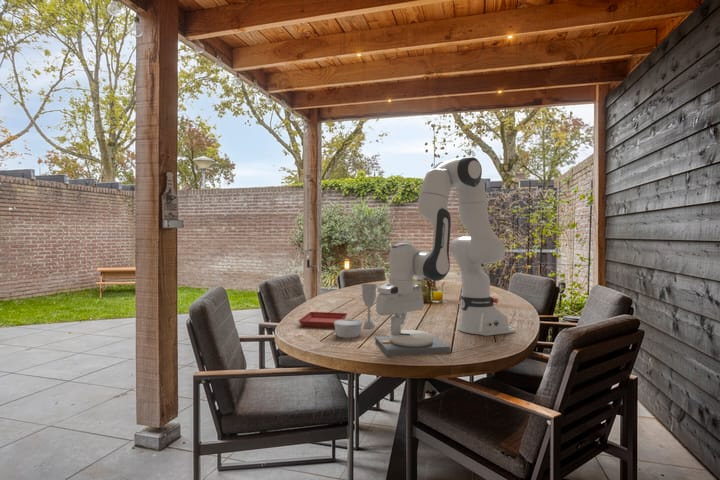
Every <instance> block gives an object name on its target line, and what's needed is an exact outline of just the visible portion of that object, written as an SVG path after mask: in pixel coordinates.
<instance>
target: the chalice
mask: <svg viewBox="0 0 720 480" xmlns="http://www.w3.org/2000/svg"><path fill="white" fill-rule="evenodd" d="M360 286H361V288H362V289H361V296H362V301H363V302H364V304H365V306H366V307H367V315H366V316H367V321H365V322H364V324H363V325H362V326H363V327H364V329H375V328H376V327H375V323H374V322H373V321H372V320H371V317H372V315H371V312H372V310H371V307H373V305H374V302H375V301H376V299H377V297H376V296H377V287H378V284H377V283H362V284H361V285H360ZM363 327H362V328H363Z"/></svg>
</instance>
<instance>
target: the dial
mask: <svg viewBox="0 0 720 480" xmlns="http://www.w3.org/2000/svg"><path fill="white" fill-rule="evenodd" d="M401 328H402V325H401V316H400V317H398V316H395V315H394V316H391V317H390V334H389V336H390V341H391V342H392V343H393V344H396V345H400V346H407V347H421V346H427V345H430V344H432V343H433V335H434V334H432V333H431V332H427V331H423V330H416V329H401Z"/></svg>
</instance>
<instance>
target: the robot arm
mask: <svg viewBox="0 0 720 480" xmlns="http://www.w3.org/2000/svg"><path fill="white" fill-rule="evenodd" d="M482 172H483V171H482V165H481V163H480V161H479V160H478V159H477V158H476V157H474V156H464V157H455V158H451V159H450V160H449V159H448V160H446V161H442V162H438V163H437V164H435V165H434V166H433V168H432V169H430V170H428V171H427V172H426V174H425V176H424V178H423V181H422V183H421V187H420V191H419V195H418V199H417V200H418V201H417V210H418V213H419V214H420V216H421V217H422V218H423V219H425V220H426V221H429V222H430V223H431V225H432V226H433V228H432V229H433V235H432V236H433V237H432V246H431V248H432V249H431V250H430V251H423V250H421V249H419V248H417V247H415V246H414V245H413V244H412V243H411V242H409V241H406V242H405V241H403V242H397V243H393V244H392V245H391V247H390V250H389V253H388V255H389V256H388V268H389V275H388V281H386V282H385V283H384V284H382V285H380V286H377V289H376V292H377V293H378V294H377V295H376V296H377V297H376V300H375V301H376V303H375V310H376V313H377V315H380V316H391V315H394V316H398V317H401V326H404V325H405V320H406V318H407V316H408V313H411V312H416V311H422V310H423V309H424V296H423V289H422V287H421V286H420V285H419V284H418V285H414V277H419V278H424V279H428V280H431V281H435V282H438V281H439V282H440V281H442V280H443V279H445V278H446V276H447V275H448V273H449V272H450V268H451V267H450V266H451V262H450V255H451V256H452V258H453V259H454V260H455V261H456V264H457V265H458V268H459V271H460V275H461V295H460V319H459V322H458V327H457V330H458V331H460V332H462V333H467V334H472V335H480V336H496V335H502V334H503V335H504V334H510V333H515V329H514V327H512V326H510V325H509V319H508V317H507V315H506V314H505V313H504V312H502V311H501V310H500V309H499V308H497V307H496V306H495V304H499V301H500V300H499V298H497V297H492V296H491V290H490V289H491V278H490V276H489V275H488V274H487V272H485V270H484V269H483V267H482V264H485V265H486V264H487V265H488V264H495V263H499V262H501V261H502V260H503V259H504V258H505V255H506V244H505V242H503V240H502V239H501V238H499V236H498V235H497V234H496V233H495V231H494V229H493V228H492V225H491V223H490V220H489V211H488V200H487V193H486V188H485V184H484V180H483V178H482V175H483V173H482ZM451 188H456V189H457V191H458V209H459V211H458V213H459V221H460V224H461V225H463V226H464V227H465V229H467V231H468V233H469V235H461V236H458V237H454V239H452V241H451V242H450V239H451V238H450V237H451V227H452V226H451V224H452V221H451V220H452V219H451V213H450V212H449V209H448V203H449V198H450V192H451V191H450V190H451ZM494 303H495V304H494Z"/></svg>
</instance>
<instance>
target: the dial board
mask: <svg viewBox="0 0 720 480" xmlns="http://www.w3.org/2000/svg"><path fill="white" fill-rule="evenodd" d="M432 335H433V343H432V344H430V345H427V346H421V347H407V346H400V345H396V344H393V343H392V342H391V341H390V335H388V336H375V339H374V341H375V342H374V343H375V344H376V345H377V346H378V347H379V349H380V350H381V351H382V352H383V353H384V354H385V356H386V357H397V356H398V357H401V356H414V355H417V356H418V355H430V354H432V355H433V354H447V353H451V346H450V345H448V344H447V343H445V342H444V341H442V340H441V339H440V338H438V336H436V335H434V334H432Z"/></svg>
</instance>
